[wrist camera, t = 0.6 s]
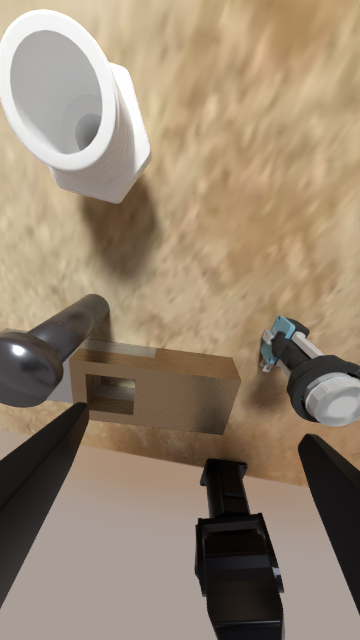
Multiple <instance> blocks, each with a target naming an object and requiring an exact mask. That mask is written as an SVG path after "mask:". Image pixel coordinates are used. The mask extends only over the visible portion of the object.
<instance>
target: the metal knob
mask: <svg viewBox="0 0 360 640" xmlns="http://www.w3.org/2000/svg"><path fill="white" fill-rule="evenodd" d="M108 314H109V305H108V303H107V301H106V300H105V299H104V298H103V297H101V296H99V295H96V294H89V295H87V296H85V297H83V298H82V299H80V300H79V301H77V302H75V303H74V304H72V305H70V306H69V307H67V308H66V309H64V310H62V311H61V312H59V313H58V314H56V315H54V316H53V317H51V318H50V319H48V320H46V321H45V322H43V323H42V324H40V325H38V326H37V327H35V328H33V329H32V330H30V331H29V332H27V333H23V332H15V331H13V332H5V333H1V334H0V403H2V404H5V405H9V406H13V407H22V408H24V407H33V406H37V405H39V404H41V403H43V402H44V401H45V400H46V399H47V398H48V397H49V396H50V394H51V393H52V392H53V391H54V390H55V388H56V387H57V386H58V385H59V384H60V382H61V381H62V378H63V374H64V368H63V363H64V362H65V361H66V359H67V358H68V357H69V356H70V355H71V354H72V353H73V352H74V351H75V350H76V349H77V348H78V347H79V346H80V345H81V344H82V342H83V341H84V340H85V339H86V338H87V337H88V336H89V335H90V334H91V333H92V332H93V331H94V330H95V329H96V328H97V326H98V325H99V324H100V323H101V322H102V321H103V320H104V319H105V318H106V317H107V316H108Z"/></svg>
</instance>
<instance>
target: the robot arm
mask: <svg viewBox="0 0 360 640" xmlns="http://www.w3.org/2000/svg"><path fill="white" fill-rule="evenodd" d="M88 422H89V404H88V403H86V402H77V403H75V404H74V405H73V406H71V407H70V408H69V409H67V410H66V411H65V412H63V413H62V414H61V415H59V416H58V417H57V418H56V419H54V420H53V421H52V422H50V423H49V424H48V425H46V426H45V427H44V428H42V429H41V430H40V431H38V432H37V433H36V434H34V435H33V436H32V437H31V438H29V439H28V440H27V441H25V442H24V443H23V444H21V445H20V446H19V447H18V448H16V449H15V450H14V451H12V452H11V453H9V454H8V455H7V456H6V457H4V458H3V459H2V460H0V608H1V606H2V604H3V602H4V600H5V598H6V596H7V594H8V592H9V590H10V588H11V586H12V584H13V582H14V580H15V578H16V576H17V574H18V572H19V570H20V568H21V566H22V564H23V562H24V560H25V558H26V556H27V554H28V552H29V550H30V548H31V546H32V544H33V542H34V540H35V538H36V536H37V534H38V532H39V530H40V528H41V526H42V524H43V522H44V520H45V518H46V516H47V514H48V512H49V510H50V508H51V506H52V504H53V502H54V500H55V498H56V496H57V494H58V492H59V490H60V488H61V486H62V484H63V482H64V480H65V478H66V476H67V474H68V472H69V470H70V468H71V466H72V463H73V461H74V458H75V456H76V453H77V450H78V448H79V445H80V443H81V440H82V438H83V435H84V432H85V430H86V427H87V425H88ZM298 453H299V456H300V459H301V462H302V465H303V469H304V472H305V475H306V478H307V481H308V485H309V488H310V491H311V494H312V497H313V499H314V502H315V504H316V507H317V509H318V512H319V514H320V517H321V519H322V522H323V524H324V527H325V529H326V532H327V535H328V537H329V539H330V542H331V544H332V547H333V549H334V552H335V554H336V557H337V560H338V562H339V565H340V567H341V570H342V572H343V574H344V577H345V579H346V582H347V585H348V587H349V590H350V592H351V595H352V597H353V600H354V602H355V604H356V607H357V610H358V612H359V614H360V471H359V470H358V469H357V468H355V467H354V466H353V465H352V464H351V463H350V462H348V461H347V460H346V459H345V458H344V457H343V456H341V455H340V454H339V453H338V452H337V451H336V450H335V449H333V448H332V447H331V446H330V445H329V444H328V443H326V442H325V441H324V440H323V439H322V438H321V437H319V436H318V435H315V434H306V435H305V436H304V437H303V439H302V440H301V442H300V443H299V445H298ZM247 468H248V467H247V464H246V463H240V462H231V461H221V460H212V459H209V460H207V461H206V464H205V467H204V471H203V474H202V477H201V480H200V485H201V486H206V487H207V497H208V508H209V518H206V519H202V518H198V524H197V525H196V553H195V575H196V576H197V578H198V579H199V583H200V586H201V591H202V596H203V597H206V598H207V611H208V614H209V618H210V621H211V623H212V626H213V629H214V632H215V635H216V637H217V640H284V638H285V626H284V614H283V607H282V602H281V598H280V594H279V593H284V588H283V583H282V579H281V574H280V570H279V567H278V563H277V559H276V557H275V553H274V550H273V546H272V543H271V540H270V537H269V534H268V531H267V528H266V524H265V521H264V518H263V515H262V513H258V514H251V513H250V509H249V505H248V501H247V497H246V493H245V489H244V485H243V480H242V479H243V477H244V475H245V473H246V470H247Z"/></svg>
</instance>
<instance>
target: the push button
mask: <svg viewBox="0 0 360 640" xmlns="http://www.w3.org/2000/svg"><path fill="white" fill-rule="evenodd" d="M309 332H310V331H309V329H307V328H306V327H305V326H303V325H302V324H301V323H299V322H298V321H295V320H292V319H289V318H285V317H282V316H278V317H277V319H276V321H275V323H274V325H273V327H272V329H271V331H270V332H269V331H268V330H265V332H264V334H263V336H262V338H263V339H264V341H265V342H264V344H263V346H262V347H261V353H262V355H263V360H262V362H261V364H260V366H261V367H264V368H263V371H264V372H269V371H270V370H271V368H272V366H273V365H277V367H278V368H281V369H282V371H283V372H284V373H285V375H286V376H287V377H288V379H289V381H288V385H287V392H288V394H289V396H290V401H291V404H292V407H293V408H294V410H295V411H296V413H297V414H298V415H299V416H300V417H302V418H303V419H305V420H308V421H311V422H318V423H322V424H325V425H327V426H342V425H347V424H349V423H352V422H355V421H357V420H358V419H359V418H360V366H359V365H357V364H354V363H351V362H346V361H344V360H342V359H340V358H339V357H337V356H335V355H324V354H323V353H322V352H321V351H320V350H318V349H317V348H316V347H315V346H314V345H312V344H311V343H310V342H309V341H308V340H307V339H306V338H307V336H308V335H309ZM266 333H267V337H265V335H266ZM263 362H265V363H266V364H265V365H263ZM266 367H269V369H266ZM346 372H347V373H346ZM301 398H302V400H301Z"/></svg>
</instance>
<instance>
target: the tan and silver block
mask: <svg viewBox="0 0 360 640" xmlns="http://www.w3.org/2000/svg"><path fill="white" fill-rule="evenodd" d="M13 331H15V332H23V333H27V332H29V331H23V330H15V329H8V328H7V329H5V330H3V331H1V332H0V334H1V333H5V332H13ZM63 368H64V374H63V378H62V381H61V382H60V384H59V385H58V386H57V387H56V388H55V390H54V391H53V392H52V393H51V394H50V396H49V397H48V398H47V399H46V400H52V401H61V402H69V403H73V405H74V404H75V403H77V402H86V403H88V404H89V420H95V421H104V422H113V423H122V424H131V425H139V426H148V427H157V428H166V429H175V430H184V431H193V432H202V433H211V434H219V435H223V433H224V430H225V427H226V424H227V421H228V418H229V416H230V413H231V410H232V407H233V404H234V401H235V398H236V395H237V392H238V389H239V386H240V383H241V379H240V376H239V374H238V371H237V369H236V366H235V364H234V361H233V359H232V358H229V357H222V356H214V355H206V354H199V353H191V352H183V351H176V350H168V349H160V348H153V347H145V346H137V345H130V344H122V343H115V342H107V341H99V340H92V339H85V340H84V341H83V342H82V344H81V345H80V346H79V347H78V348H77V349H76V350H75V351H74V352H73V353H72V354H71V355H70V356H69V357H68V358H67V359H66V361H65V362H64V363H63ZM101 376H109V377H117V378H125V379H133V380H135V388H126V387H118V386H110V385H102V384H101Z"/></svg>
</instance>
